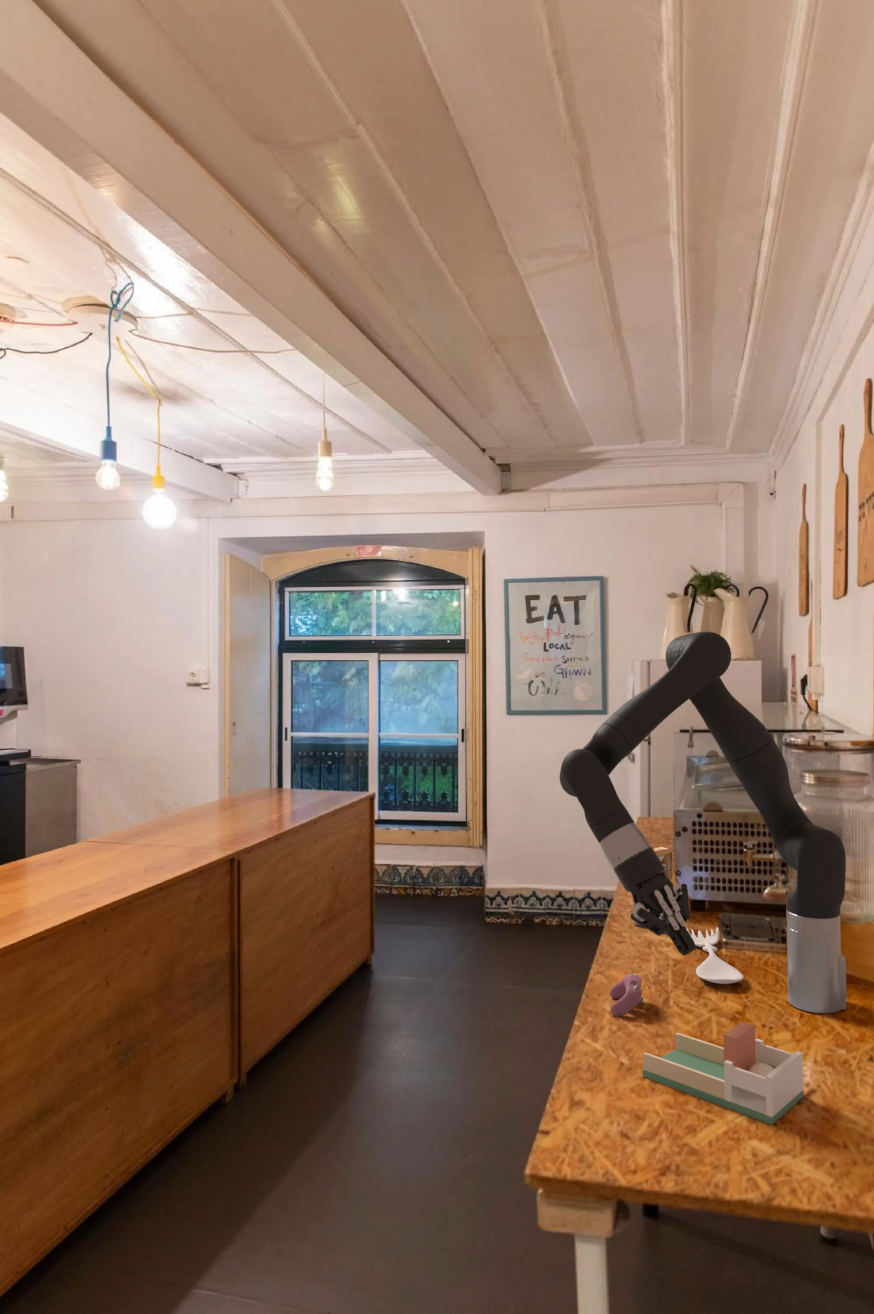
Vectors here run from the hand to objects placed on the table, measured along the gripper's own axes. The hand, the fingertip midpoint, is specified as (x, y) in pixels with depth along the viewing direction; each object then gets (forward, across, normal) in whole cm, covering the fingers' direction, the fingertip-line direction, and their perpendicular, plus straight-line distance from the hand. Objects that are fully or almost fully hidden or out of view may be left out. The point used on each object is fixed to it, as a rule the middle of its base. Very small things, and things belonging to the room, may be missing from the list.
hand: (690, 952), depth 140 cm
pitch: (+18, -6, +4) cm, 19 cm away
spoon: (+5, +38, +34) cm, 52 cm away
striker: (+19, -5, 0) cm, 20 cm away
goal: (+22, -5, -2) cm, 23 cm away
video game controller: (+4, +6, +28) cm, 29 cm away
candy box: (-11, +60, +63) cm, 87 cm away
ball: (+20, -4, -4) cm, 20 cm away
